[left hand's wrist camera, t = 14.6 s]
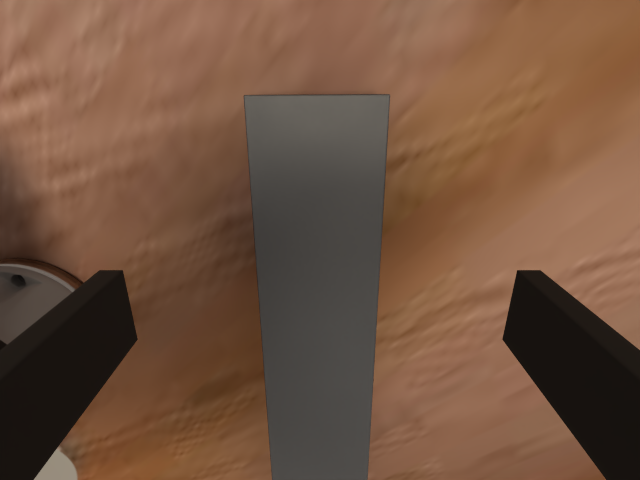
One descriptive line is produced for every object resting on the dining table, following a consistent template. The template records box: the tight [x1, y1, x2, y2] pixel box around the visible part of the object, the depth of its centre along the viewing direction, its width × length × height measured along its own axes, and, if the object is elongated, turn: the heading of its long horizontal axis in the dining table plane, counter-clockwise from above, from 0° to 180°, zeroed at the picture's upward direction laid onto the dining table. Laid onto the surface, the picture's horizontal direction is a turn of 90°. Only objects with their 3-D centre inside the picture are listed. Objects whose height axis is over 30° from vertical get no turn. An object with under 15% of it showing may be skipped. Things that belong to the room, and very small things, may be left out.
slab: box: [244, 94, 390, 480], centre depth 43 cm, size 79×10×6 cm, turn 0°
